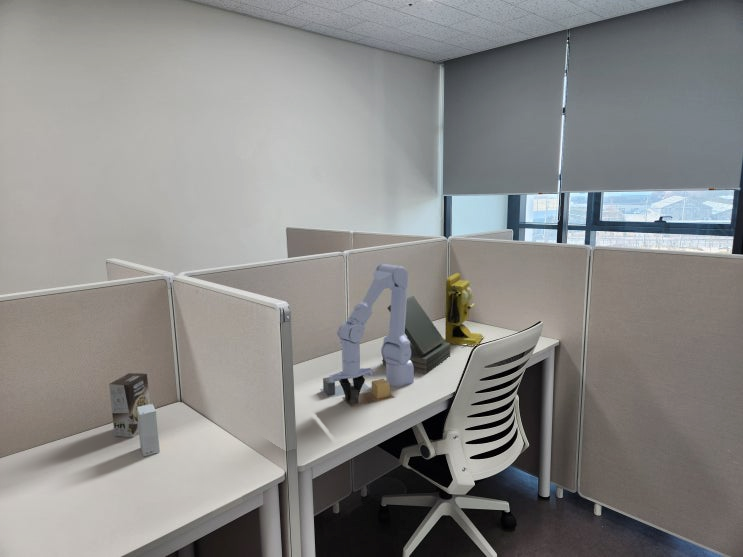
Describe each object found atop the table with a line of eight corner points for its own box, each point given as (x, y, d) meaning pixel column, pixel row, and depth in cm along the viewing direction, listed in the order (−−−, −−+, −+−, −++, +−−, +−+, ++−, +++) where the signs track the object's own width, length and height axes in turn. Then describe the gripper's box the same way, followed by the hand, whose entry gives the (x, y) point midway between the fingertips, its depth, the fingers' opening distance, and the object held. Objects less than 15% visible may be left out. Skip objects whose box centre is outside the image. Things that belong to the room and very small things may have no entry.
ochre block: (383, 391, 168) (383, 378, 167) (389, 395, 164) (389, 383, 163) (371, 393, 166) (371, 381, 165) (377, 398, 162) (377, 385, 161)
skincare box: (160, 452, 133) (156, 411, 130) (143, 457, 130) (138, 415, 128) (156, 442, 138) (152, 403, 136) (140, 447, 135) (135, 406, 133)
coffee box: (133, 438, 141) (127, 385, 138) (113, 436, 142) (107, 383, 139) (153, 423, 149) (148, 373, 147) (134, 421, 151) (128, 372, 148)
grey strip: (361, 383, 177) (361, 369, 176) (371, 391, 170) (370, 376, 169) (319, 391, 170) (319, 377, 169) (327, 400, 163) (327, 385, 162)
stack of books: (426, 375, 185) (426, 311, 181) (381, 365, 196) (381, 305, 191) (450, 357, 204) (451, 299, 200) (409, 349, 215) (408, 294, 210)
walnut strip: (384, 391, 170) (384, 376, 169) (395, 400, 163) (395, 384, 162) (341, 400, 163) (341, 385, 162) (351, 409, 156) (350, 393, 155)
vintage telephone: (471, 353, 208) (473, 284, 202) (439, 349, 213) (440, 282, 208) (487, 333, 235) (489, 272, 230) (459, 330, 241) (460, 270, 236)
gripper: (366, 352, 164) (366, 390, 167) (325, 359, 158) (326, 398, 161) (375, 358, 158) (375, 398, 161) (333, 366, 152) (334, 407, 155)
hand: (352, 398), depth 160 cm, fingers closed on walnut strip, 2 cm apart
